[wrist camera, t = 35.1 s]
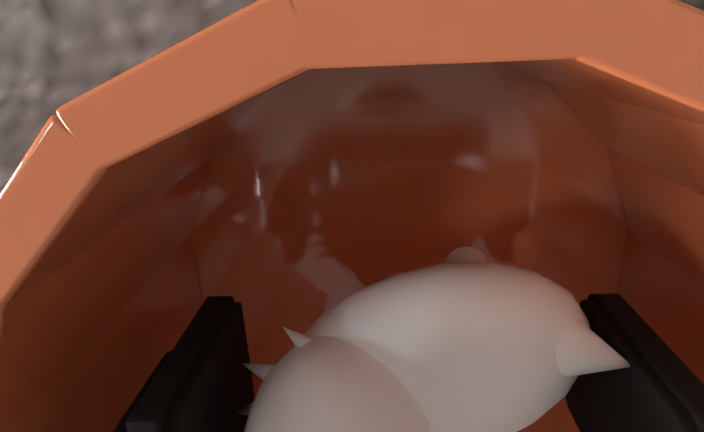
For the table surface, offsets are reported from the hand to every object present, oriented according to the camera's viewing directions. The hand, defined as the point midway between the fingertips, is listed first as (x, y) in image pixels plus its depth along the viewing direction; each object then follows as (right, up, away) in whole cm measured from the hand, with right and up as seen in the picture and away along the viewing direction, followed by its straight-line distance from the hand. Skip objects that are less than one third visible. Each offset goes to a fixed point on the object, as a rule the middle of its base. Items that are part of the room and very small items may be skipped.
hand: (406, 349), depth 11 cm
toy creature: (0, +1, +2) cm, 2 cm away
